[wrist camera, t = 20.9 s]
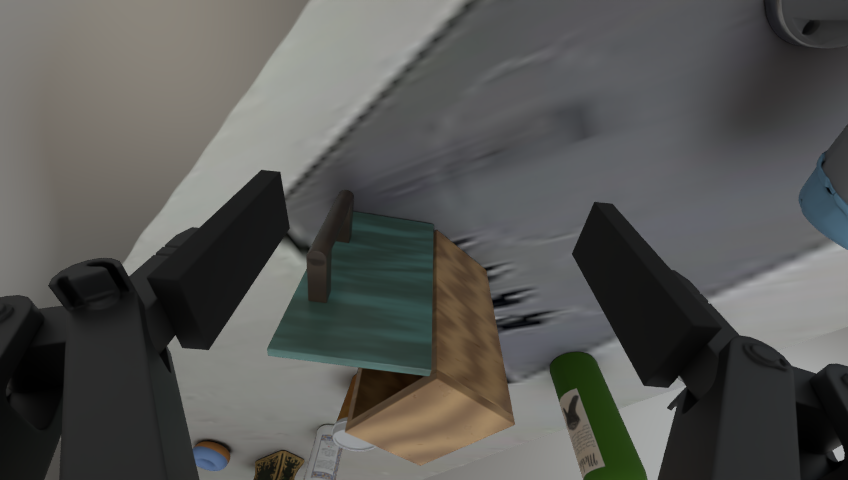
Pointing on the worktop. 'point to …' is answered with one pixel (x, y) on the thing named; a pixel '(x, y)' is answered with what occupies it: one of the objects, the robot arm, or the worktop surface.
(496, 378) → the cabinet
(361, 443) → the disposable coffee cup
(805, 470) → the robot arm
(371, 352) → the door
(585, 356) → the wine bottle
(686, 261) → the worktop surface
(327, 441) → the bath foam
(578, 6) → the worktop surface
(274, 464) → the decorative box
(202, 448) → the doughnut
